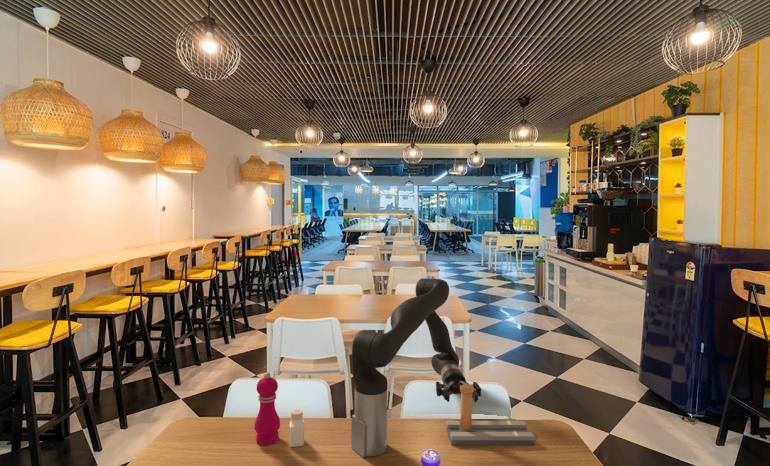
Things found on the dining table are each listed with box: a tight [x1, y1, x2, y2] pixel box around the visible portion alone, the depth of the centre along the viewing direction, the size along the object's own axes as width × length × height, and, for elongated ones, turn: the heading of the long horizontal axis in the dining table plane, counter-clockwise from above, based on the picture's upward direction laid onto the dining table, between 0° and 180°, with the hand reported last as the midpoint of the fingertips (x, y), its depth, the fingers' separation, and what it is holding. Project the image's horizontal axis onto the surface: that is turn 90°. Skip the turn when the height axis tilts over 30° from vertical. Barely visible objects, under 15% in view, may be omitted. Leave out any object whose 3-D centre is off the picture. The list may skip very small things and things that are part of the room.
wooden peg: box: [459, 384, 474, 432], centre depth 128 cm, size 4×4×14 cm
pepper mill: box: [254, 372, 281, 446], centre depth 125 cm, size 7×7×20 cm
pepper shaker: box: [289, 408, 305, 448], centre depth 123 cm, size 4×4×10 cm
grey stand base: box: [446, 420, 536, 446], centre depth 128 cm, size 24×9×3 cm, turn 91°
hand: (462, 398), depth 134 cm, fingers open, 8 cm apart
